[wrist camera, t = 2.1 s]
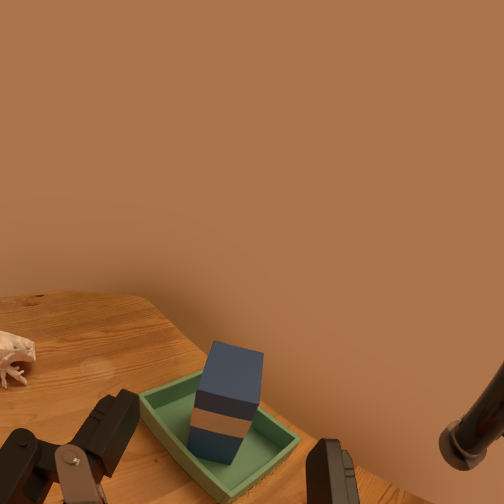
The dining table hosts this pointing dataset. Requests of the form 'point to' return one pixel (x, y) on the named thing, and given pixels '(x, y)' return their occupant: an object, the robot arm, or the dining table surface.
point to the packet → (225, 402)
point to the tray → (205, 471)
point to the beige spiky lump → (14, 355)
